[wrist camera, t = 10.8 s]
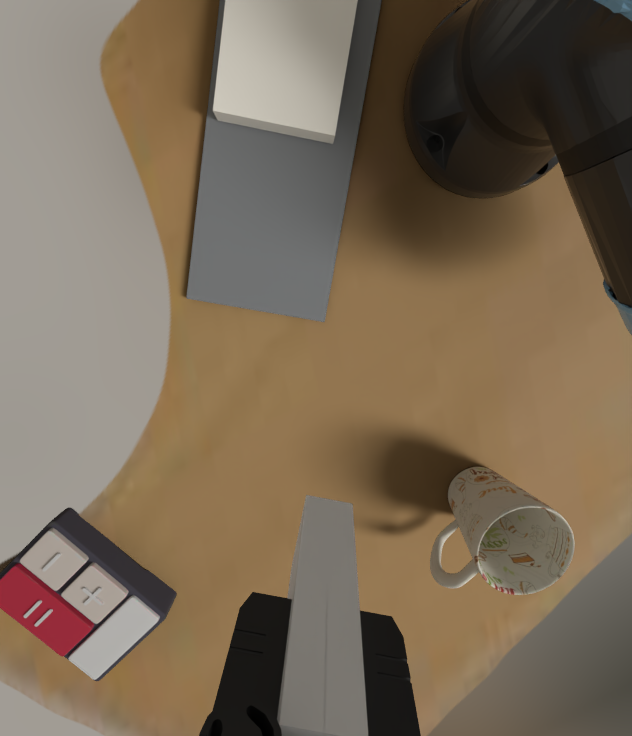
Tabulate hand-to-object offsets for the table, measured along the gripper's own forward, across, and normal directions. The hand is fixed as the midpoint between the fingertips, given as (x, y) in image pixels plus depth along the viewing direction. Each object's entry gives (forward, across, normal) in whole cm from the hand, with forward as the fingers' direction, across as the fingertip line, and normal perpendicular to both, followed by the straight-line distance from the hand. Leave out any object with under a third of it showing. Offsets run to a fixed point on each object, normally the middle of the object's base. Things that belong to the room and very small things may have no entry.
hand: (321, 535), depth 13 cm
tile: (+27, -8, +18) cm, 33 cm away
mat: (+29, -8, +16) cm, 34 cm away
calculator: (+24, -20, -30) cm, 43 cm away
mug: (+28, +17, -15) cm, 36 cm away
